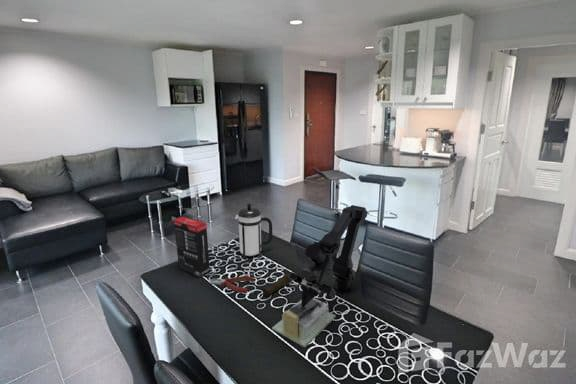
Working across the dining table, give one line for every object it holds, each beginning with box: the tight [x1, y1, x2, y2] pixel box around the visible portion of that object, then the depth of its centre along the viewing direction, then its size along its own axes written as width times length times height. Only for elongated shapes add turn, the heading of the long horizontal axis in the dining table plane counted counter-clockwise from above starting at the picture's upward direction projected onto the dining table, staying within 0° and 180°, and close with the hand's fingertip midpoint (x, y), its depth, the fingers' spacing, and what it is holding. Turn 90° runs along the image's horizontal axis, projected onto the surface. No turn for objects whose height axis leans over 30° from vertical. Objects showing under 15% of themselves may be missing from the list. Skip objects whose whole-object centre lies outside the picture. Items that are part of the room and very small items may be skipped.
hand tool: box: [262, 271, 292, 298], centre depth 145 cm, size 19×4×5 cm, turn 137°
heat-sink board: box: [271, 297, 336, 349], centre depth 120 cm, size 21×15×9 cm
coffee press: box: [234, 202, 273, 260], centre depth 175 cm, size 17×16×30 cm
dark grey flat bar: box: [289, 299, 319, 315], centre depth 120 cm, size 14×4×1 cm, turn 142°
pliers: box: [208, 275, 254, 294], centre depth 148 cm, size 12×20×3 cm, turn 79°
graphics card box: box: [173, 216, 211, 278], centre depth 157 cm, size 17×7×27 cm, turn 58°
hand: (302, 306), depth 118 cm, fingers closed, pressing on dark grey flat bar
